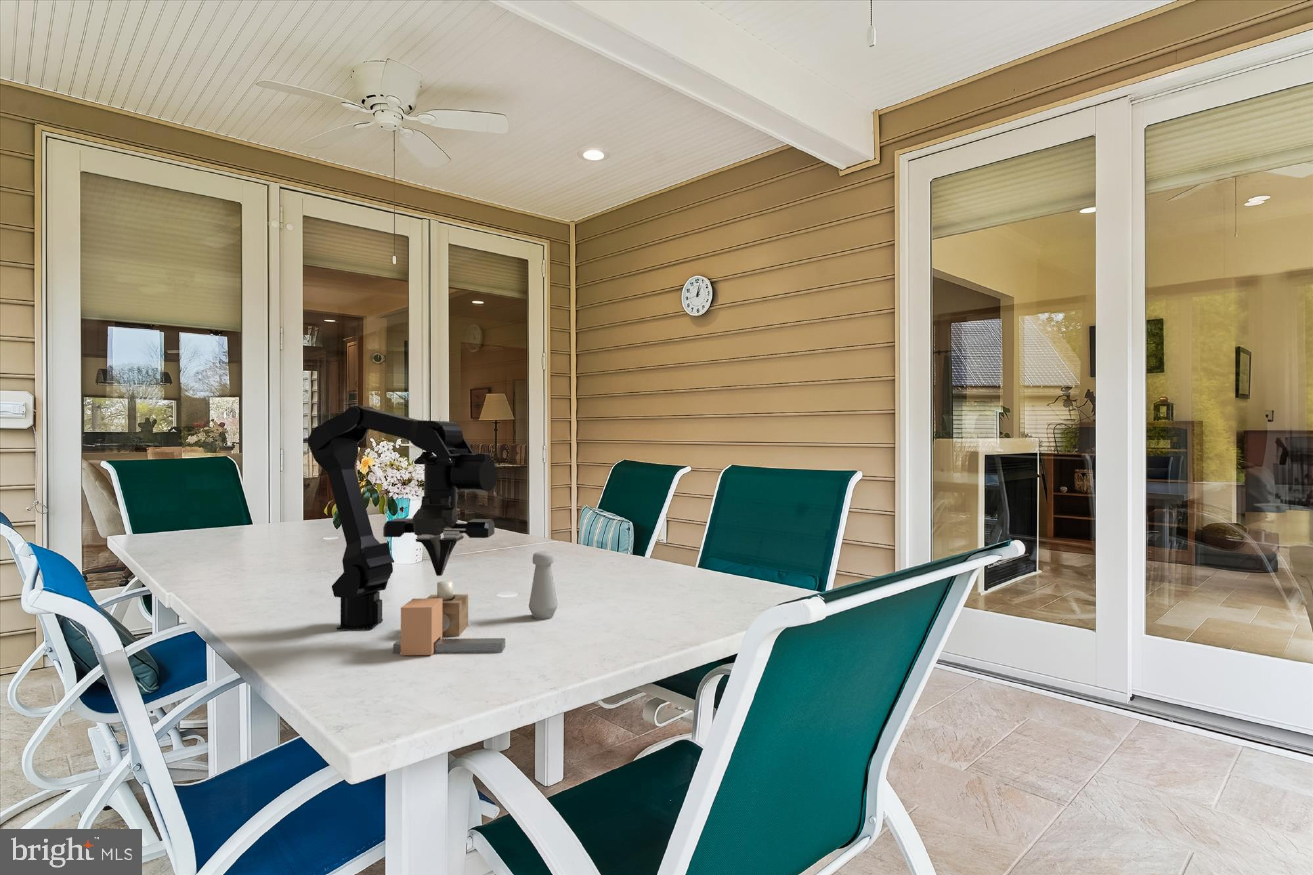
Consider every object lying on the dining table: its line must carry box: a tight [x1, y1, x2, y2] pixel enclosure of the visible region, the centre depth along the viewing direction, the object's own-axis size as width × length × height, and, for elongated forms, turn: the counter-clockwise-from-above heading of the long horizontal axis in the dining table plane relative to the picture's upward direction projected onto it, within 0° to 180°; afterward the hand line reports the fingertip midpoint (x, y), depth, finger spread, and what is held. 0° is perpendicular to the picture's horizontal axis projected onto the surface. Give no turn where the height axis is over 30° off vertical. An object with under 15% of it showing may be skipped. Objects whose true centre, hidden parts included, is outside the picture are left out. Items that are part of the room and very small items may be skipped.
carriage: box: [400, 597, 443, 656], centre depth 117 cm, size 5×7×8 cm
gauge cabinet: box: [427, 593, 469, 637], centre depth 129 cm, size 7×7×6 cm
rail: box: [392, 637, 506, 654], centre depth 117 cm, size 18×3×2 cm, turn 92°
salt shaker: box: [528, 550, 559, 620], centre depth 140 cm, size 6×6×13 cm
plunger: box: [436, 580, 454, 600], centre depth 129 cm, size 3×3×3 cm
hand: (439, 575), depth 126 cm, fingers closed
